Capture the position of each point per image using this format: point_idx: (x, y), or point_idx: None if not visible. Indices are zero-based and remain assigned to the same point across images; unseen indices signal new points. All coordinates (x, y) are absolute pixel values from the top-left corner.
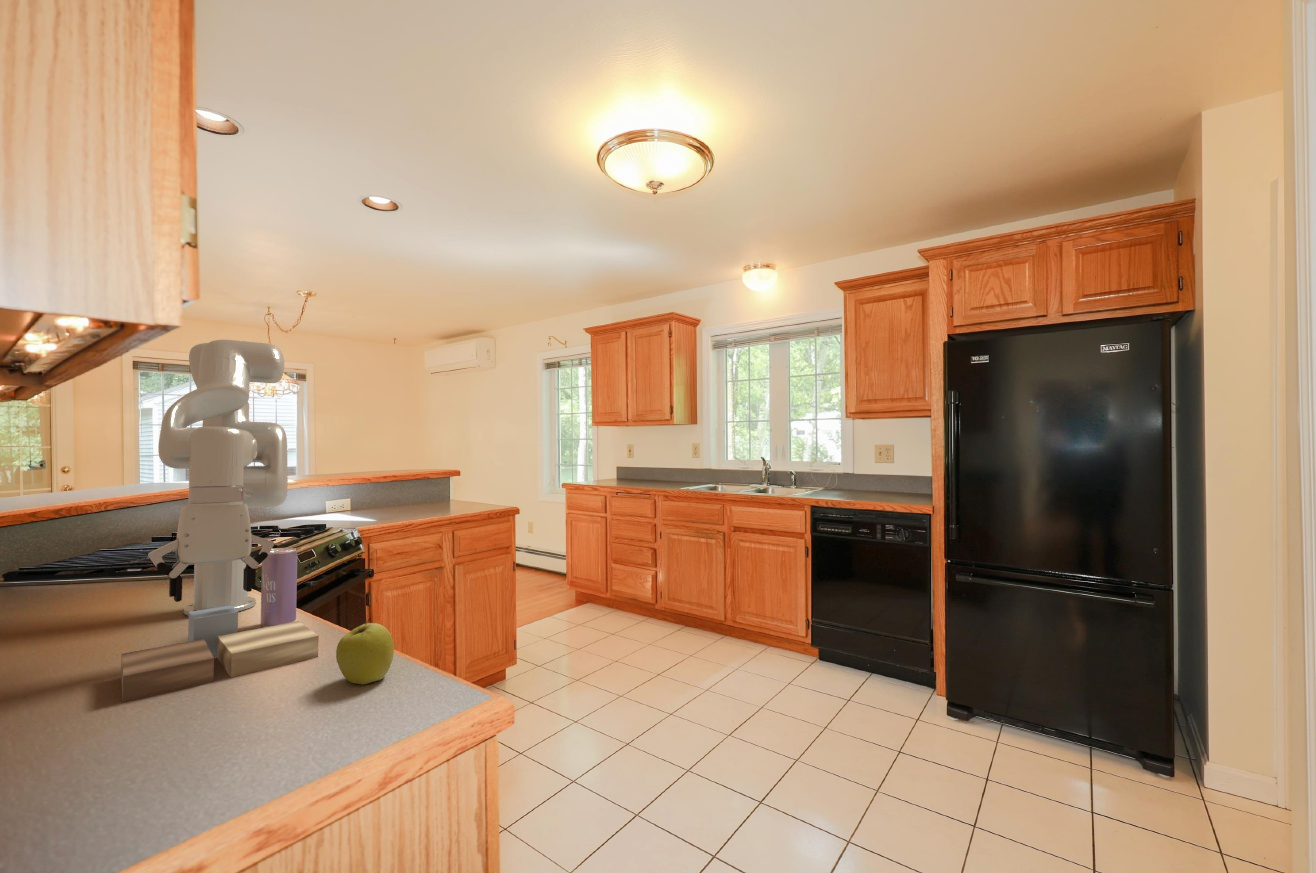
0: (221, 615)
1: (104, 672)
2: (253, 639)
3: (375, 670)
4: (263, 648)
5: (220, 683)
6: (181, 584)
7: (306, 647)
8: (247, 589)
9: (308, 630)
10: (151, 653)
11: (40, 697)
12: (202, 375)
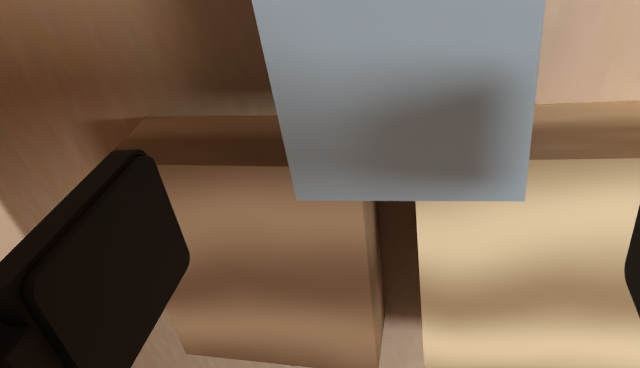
0: (429, 197)
1: (68, 18)
2: (523, 298)
3: None
4: None
5: (398, 334)
6: (132, 358)
7: None
8: (633, 285)
9: None
10: (200, 226)
11: (7, 150)
12: None
